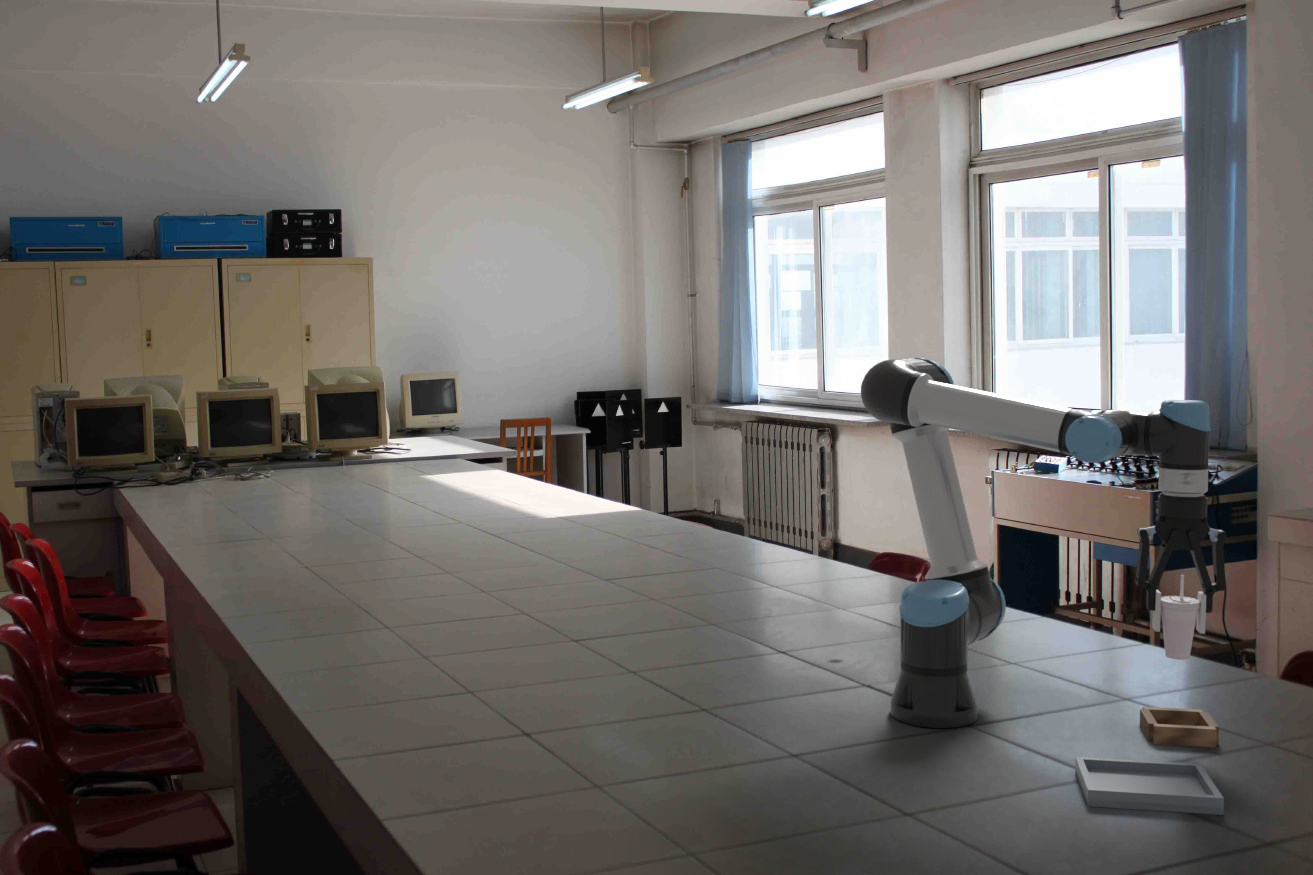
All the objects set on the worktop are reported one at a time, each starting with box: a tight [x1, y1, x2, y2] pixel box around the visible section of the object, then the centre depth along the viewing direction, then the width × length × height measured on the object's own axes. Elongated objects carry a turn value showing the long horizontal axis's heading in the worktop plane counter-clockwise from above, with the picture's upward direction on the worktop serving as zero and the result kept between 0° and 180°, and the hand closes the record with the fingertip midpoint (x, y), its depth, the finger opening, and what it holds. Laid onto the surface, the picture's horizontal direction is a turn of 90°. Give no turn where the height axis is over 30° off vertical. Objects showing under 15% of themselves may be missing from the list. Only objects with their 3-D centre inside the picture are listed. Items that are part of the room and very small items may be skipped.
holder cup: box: [1139, 706, 1220, 748], centre depth 201 cm, size 11×11×3 cm
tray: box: [1074, 756, 1225, 816], centre depth 175 cm, size 18×14×2 cm
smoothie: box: [1161, 574, 1200, 661], centre depth 199 cm, size 6×6×14 cm
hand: (1178, 630), depth 199 cm, fingers closed on smoothie, 6 cm apart
